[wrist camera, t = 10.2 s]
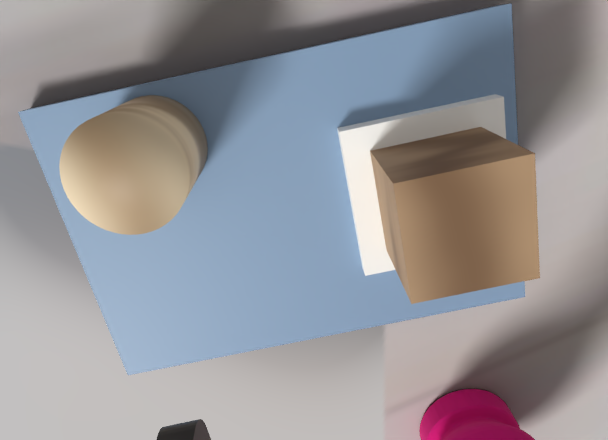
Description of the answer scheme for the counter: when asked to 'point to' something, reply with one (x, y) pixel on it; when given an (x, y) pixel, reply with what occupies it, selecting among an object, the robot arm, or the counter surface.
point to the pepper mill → (470, 418)
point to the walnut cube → (458, 212)
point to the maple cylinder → (134, 164)
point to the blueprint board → (286, 190)
